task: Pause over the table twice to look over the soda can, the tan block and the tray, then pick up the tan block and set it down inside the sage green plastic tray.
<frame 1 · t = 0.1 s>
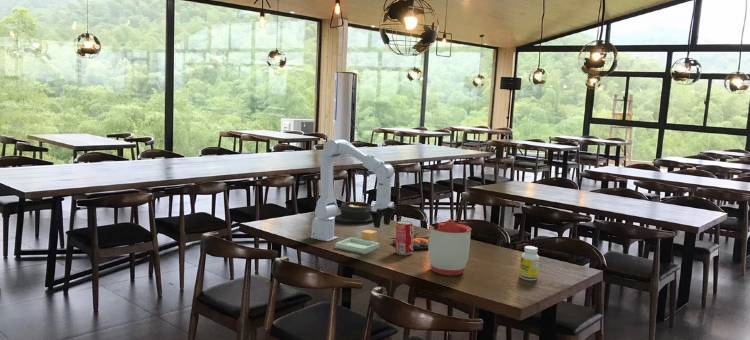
hand: (381, 226, 248), 10 cm above the table, tool pointing down, fingers open, 7 cm apart
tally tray: (357, 248, 250), on the table
soda can: (403, 253, 246), on the table
tan block: (368, 242, 260), on the table
pill bottle: (528, 278, 221), on the table
sushi plate: (419, 242, 267), on the table
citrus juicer: (445, 271, 225), on the table
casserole: (355, 221, 301), on the table
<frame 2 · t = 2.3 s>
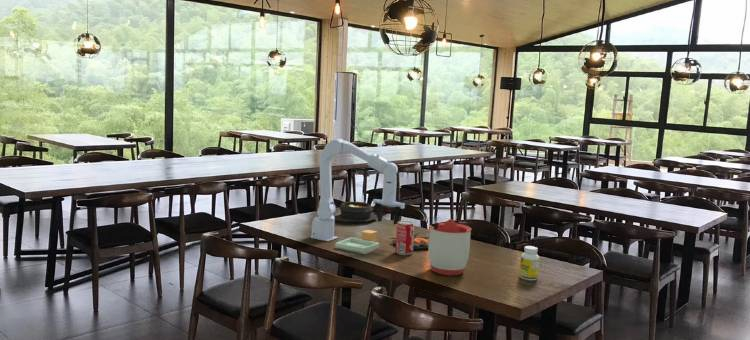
hand: (387, 222, 258), 9 cm above the table, tool pointing down, fingers open, 7 cm apart
nothing on the table moved.
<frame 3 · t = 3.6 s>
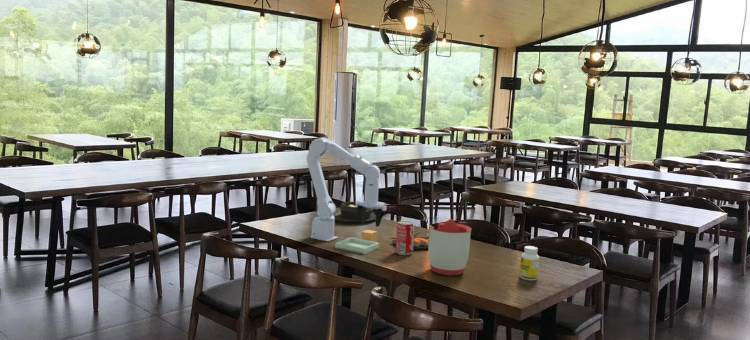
hand: (369, 224, 259), 8 cm above the table, tool pointing down, fingers open, 7 cm apart
nothing on the table moved.
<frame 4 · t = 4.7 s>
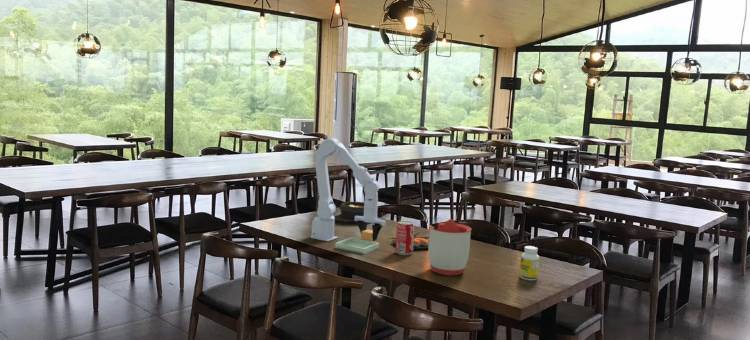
hand: (369, 239, 260), 1 cm above the table, tool pointing down, fingers closed on tan block, 5 cm apart
tan block: (368, 242, 260), on the table, touching gripper
everything else where it was.
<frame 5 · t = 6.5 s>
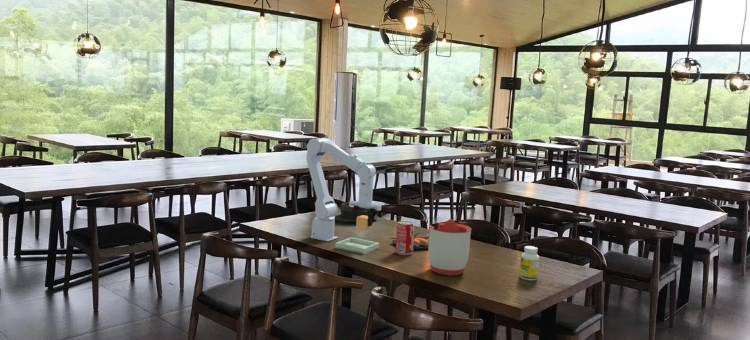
hand: (364, 224, 254), 9 cm above the table, tool pointing down, fingers closed on tan block, 5 cm apart
tan block: (364, 228, 254), point 7 cm above the table, touching gripper
everything else where it was.
when the fingers open (3 cm above the table, at t = 8.4 s): tan block stays where it is, resting on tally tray.
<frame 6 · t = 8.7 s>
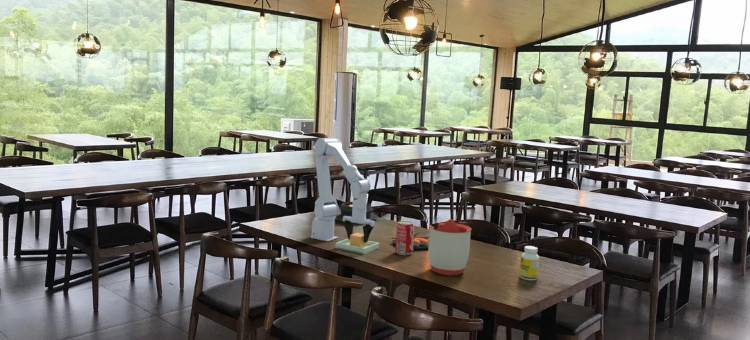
hand: (357, 240, 250), 3 cm above the table, tool pointing down, fingers open, 7 cm apart
tan block: (357, 246, 250), point 1 cm above the table, touching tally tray
everything else where it was.
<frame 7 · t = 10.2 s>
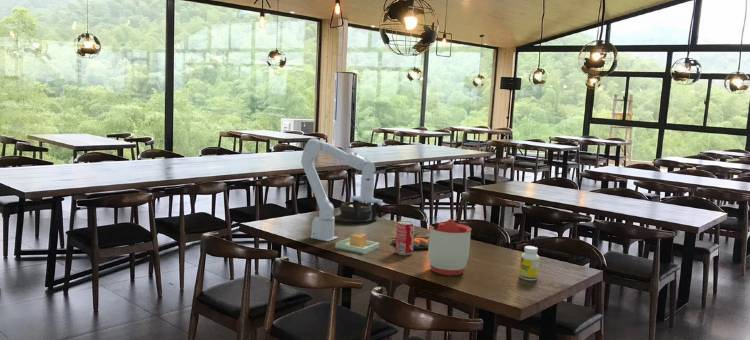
hand: (365, 218, 263), 9 cm above the table, tool pointing down, fingers open, 7 cm apart
nothing on the table moved.
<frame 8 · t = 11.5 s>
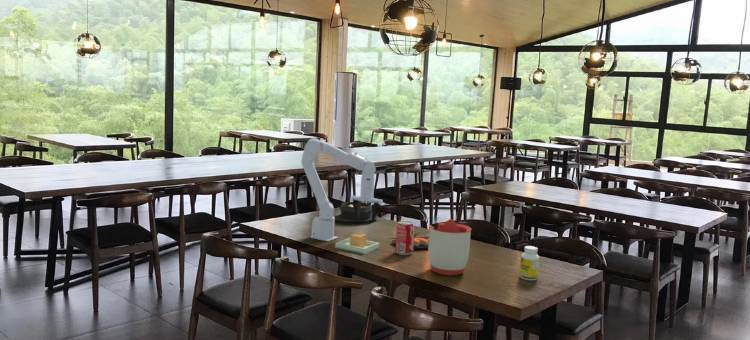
hand: (365, 218, 263), 9 cm above the table, tool pointing down, fingers open, 7 cm apart
nothing on the table moved.
at the end: tan block inside the target area on the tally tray (0.3 cm from its centre), point 0.6 cm above the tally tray's base; the gripper is holding nothing; tan block tilted 0° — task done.
